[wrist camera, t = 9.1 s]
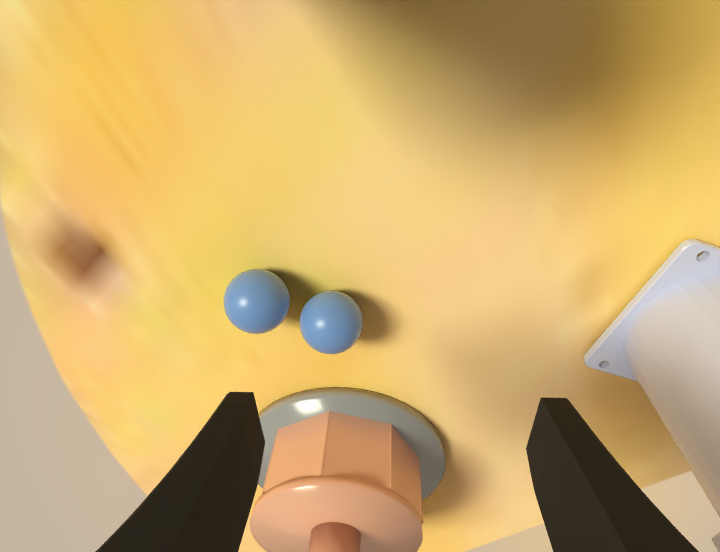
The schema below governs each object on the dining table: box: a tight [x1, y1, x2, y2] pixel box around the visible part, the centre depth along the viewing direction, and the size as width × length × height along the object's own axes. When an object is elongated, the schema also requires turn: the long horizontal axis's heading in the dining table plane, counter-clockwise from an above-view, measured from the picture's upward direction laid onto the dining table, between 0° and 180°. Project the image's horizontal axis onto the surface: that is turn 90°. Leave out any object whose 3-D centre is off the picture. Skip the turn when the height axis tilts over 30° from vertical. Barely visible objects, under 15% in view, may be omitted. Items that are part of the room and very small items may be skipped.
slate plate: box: [258, 387, 445, 500], centre depth 30 cm, size 13×13×1 cm
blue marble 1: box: [224, 269, 290, 334], centre depth 21 cm, size 3×3×3 cm
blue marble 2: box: [300, 291, 363, 354], centre depth 22 cm, size 3×3×3 cm
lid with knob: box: [250, 411, 423, 552], centre depth 26 cm, size 10×10×8 cm
